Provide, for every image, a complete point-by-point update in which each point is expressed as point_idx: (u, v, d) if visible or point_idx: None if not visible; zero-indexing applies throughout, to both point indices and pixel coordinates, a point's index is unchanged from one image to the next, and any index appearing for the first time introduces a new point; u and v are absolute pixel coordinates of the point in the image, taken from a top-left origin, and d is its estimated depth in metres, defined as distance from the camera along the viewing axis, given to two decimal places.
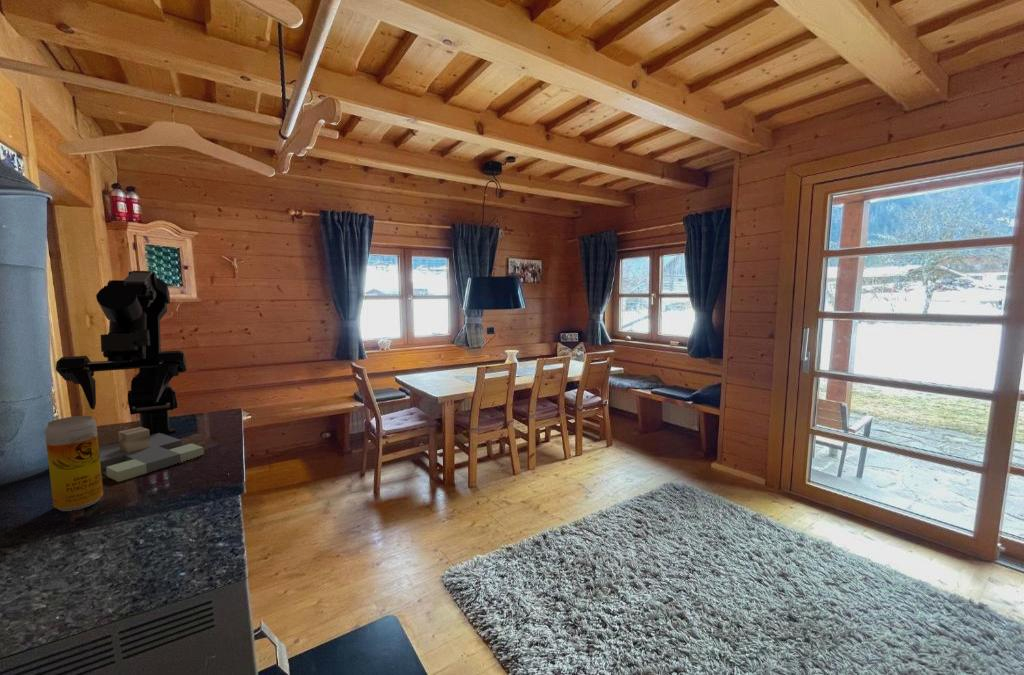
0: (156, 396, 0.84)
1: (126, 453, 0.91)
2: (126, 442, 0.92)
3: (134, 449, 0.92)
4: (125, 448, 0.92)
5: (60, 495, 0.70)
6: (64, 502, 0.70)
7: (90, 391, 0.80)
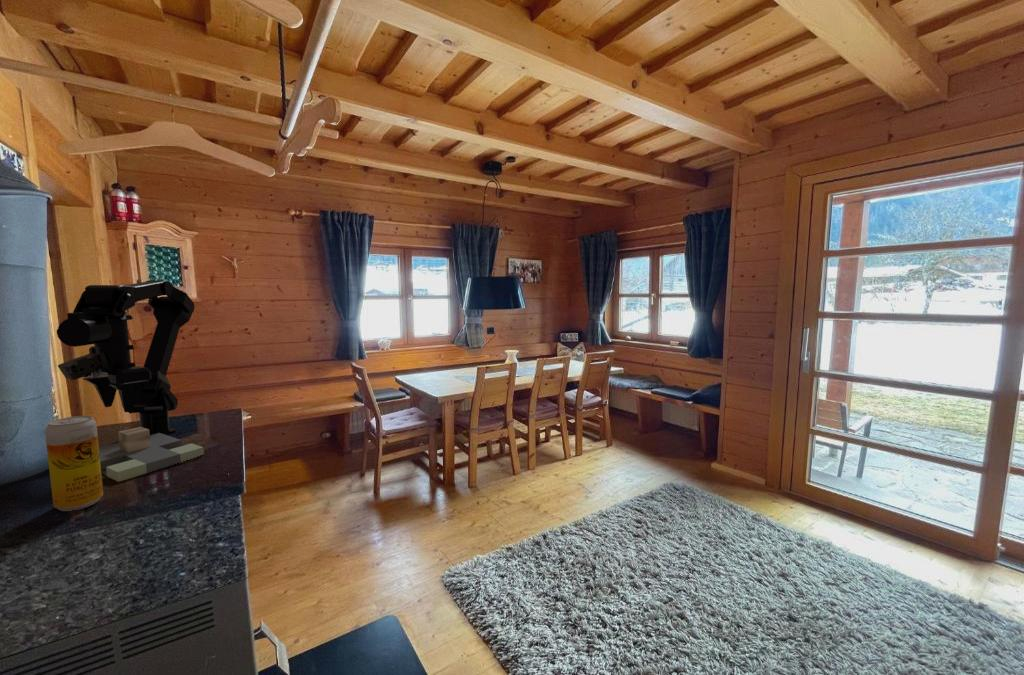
0: (124, 409, 0.93)
1: (126, 453, 0.91)
2: (126, 442, 0.92)
3: (134, 449, 0.92)
4: (125, 448, 0.92)
5: (60, 495, 0.70)
6: (64, 502, 0.70)
7: (100, 394, 0.97)
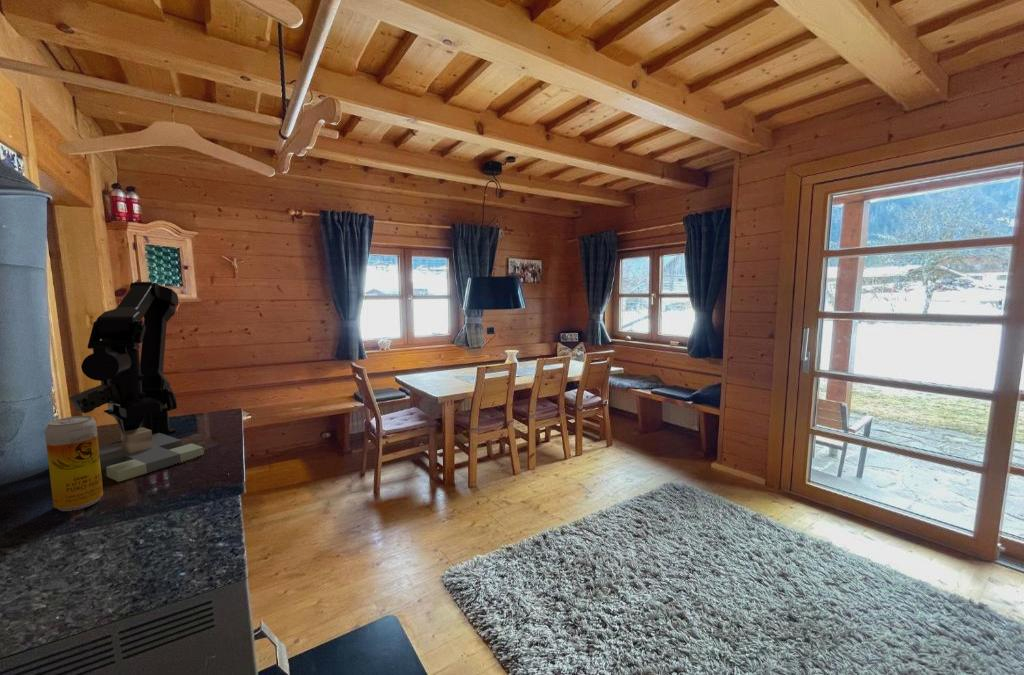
0: None
1: (126, 453, 0.91)
2: (128, 443, 0.91)
3: (136, 450, 0.92)
4: (127, 449, 0.92)
5: (60, 495, 0.70)
6: (64, 502, 0.70)
7: (121, 427, 0.94)
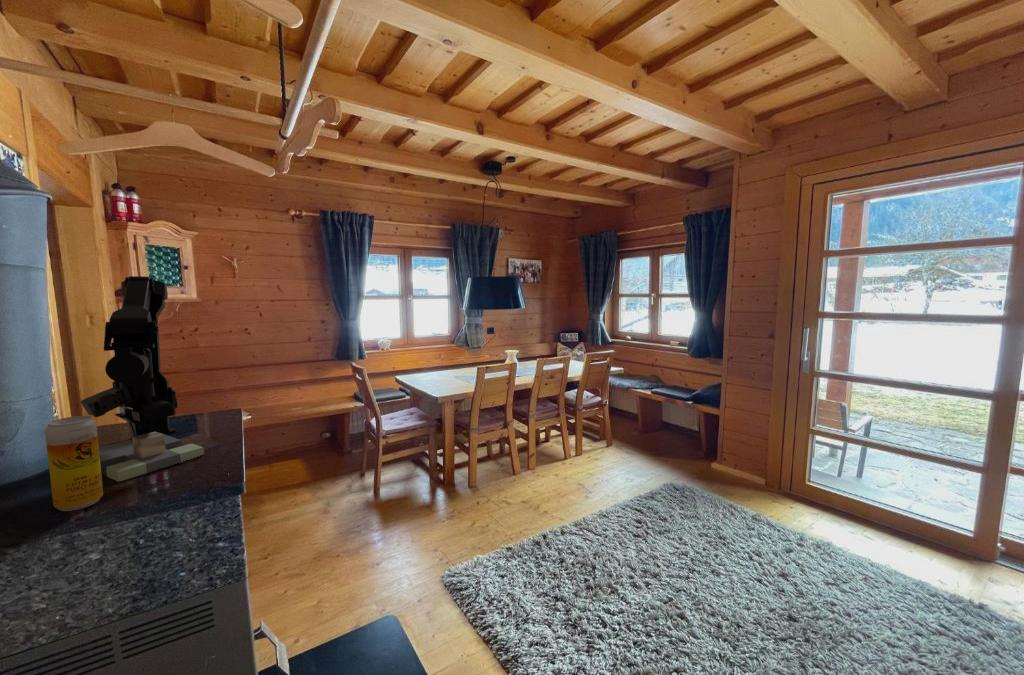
0: None
1: (126, 453, 0.91)
2: (140, 448, 0.88)
3: (149, 455, 0.89)
4: (139, 454, 0.89)
5: (60, 495, 0.70)
6: (64, 502, 0.70)
7: (133, 431, 0.91)
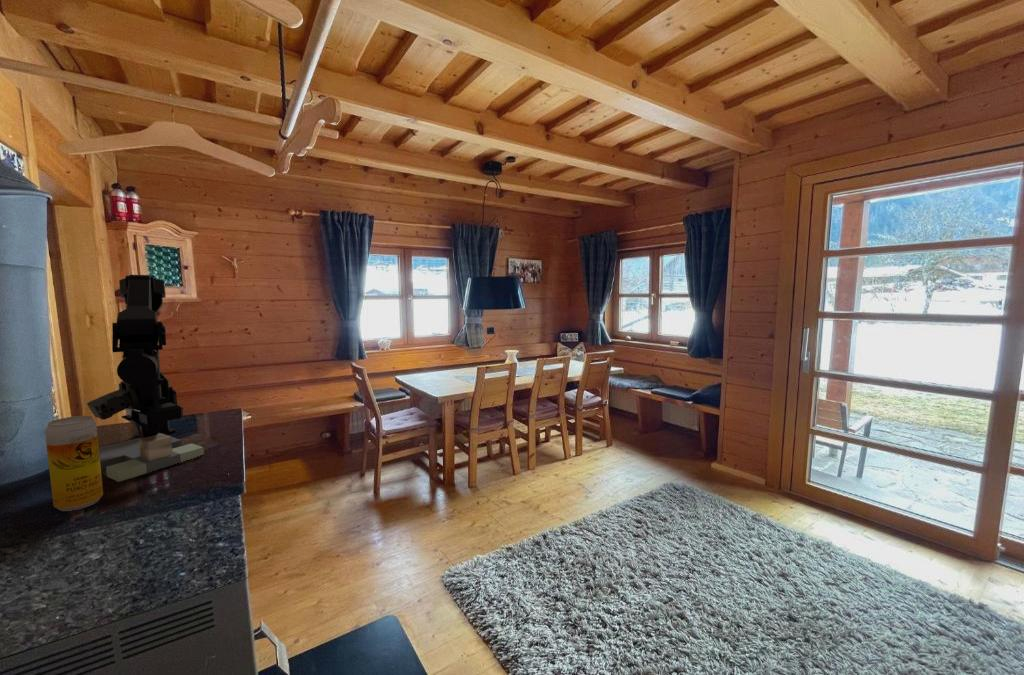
0: None
1: (126, 453, 0.91)
2: (148, 450, 0.87)
3: (156, 457, 0.88)
4: (146, 456, 0.88)
5: (60, 495, 0.70)
6: (64, 502, 0.70)
7: (140, 434, 0.90)
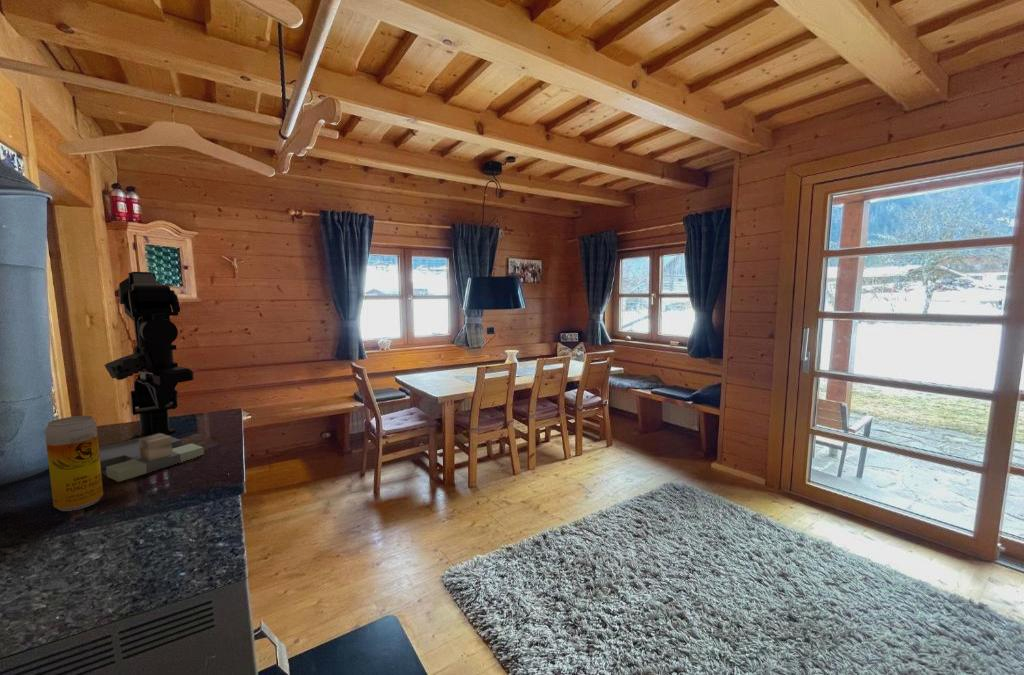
0: (157, 406, 0.96)
1: (126, 453, 0.91)
2: (148, 450, 0.87)
3: (156, 457, 0.88)
4: (146, 456, 0.88)
5: (60, 495, 0.70)
6: (64, 502, 0.70)
7: (153, 396, 0.95)
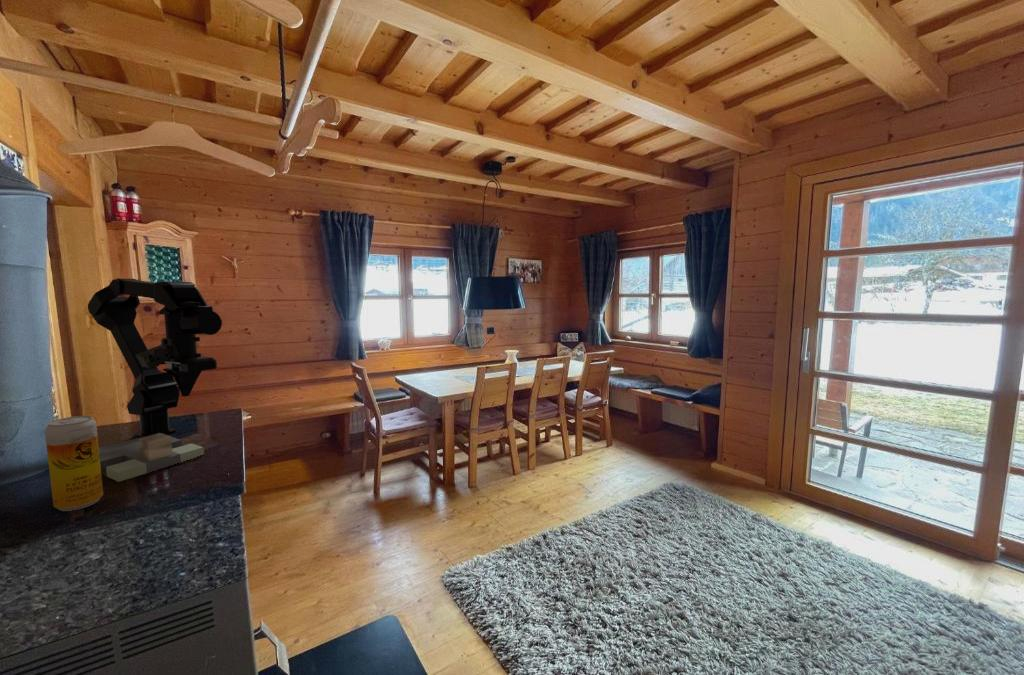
0: (183, 393, 1.04)
1: (126, 453, 0.91)
2: (148, 450, 0.87)
3: (156, 457, 0.88)
4: (146, 456, 0.88)
5: (60, 495, 0.70)
6: (64, 502, 0.70)
7: (178, 384, 1.03)
